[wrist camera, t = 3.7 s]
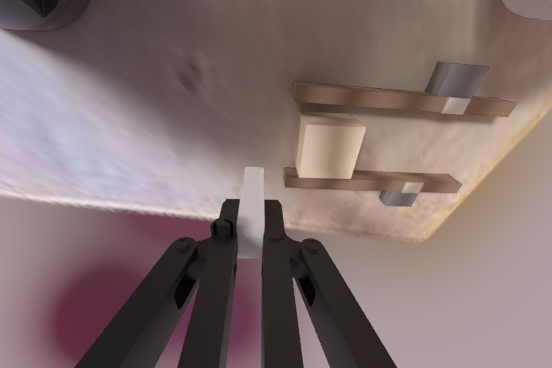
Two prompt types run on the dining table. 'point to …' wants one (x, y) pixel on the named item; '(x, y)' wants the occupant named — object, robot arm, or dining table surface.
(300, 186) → the beam slot
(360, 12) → the dining table surface
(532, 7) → the teacup
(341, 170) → the block
